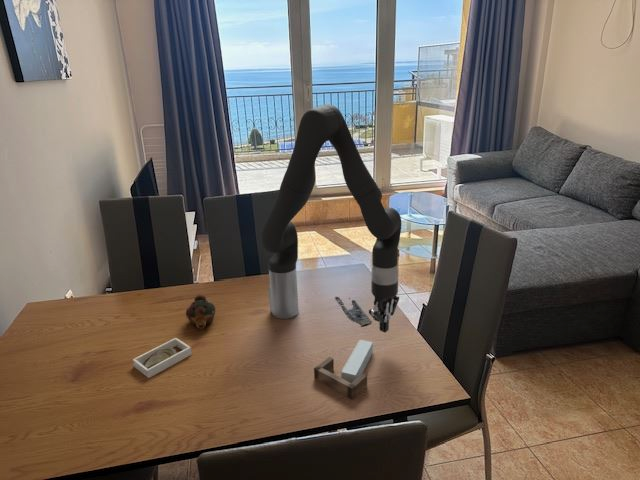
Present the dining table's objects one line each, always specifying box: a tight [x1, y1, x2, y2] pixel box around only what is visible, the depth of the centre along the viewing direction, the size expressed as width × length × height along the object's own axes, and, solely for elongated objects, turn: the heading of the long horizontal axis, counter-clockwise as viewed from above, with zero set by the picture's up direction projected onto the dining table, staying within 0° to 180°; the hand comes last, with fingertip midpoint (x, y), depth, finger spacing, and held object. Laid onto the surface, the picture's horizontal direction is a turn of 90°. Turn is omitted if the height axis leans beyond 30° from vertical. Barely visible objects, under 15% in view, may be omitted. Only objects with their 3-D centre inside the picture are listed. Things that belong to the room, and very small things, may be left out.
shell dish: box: [132, 337, 193, 379], centre depth 131 cm, size 8×14×2 cm, turn 139°
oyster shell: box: [142, 347, 178, 369], centre depth 130 cm, size 6×4×10 cm
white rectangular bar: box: [340, 339, 374, 383], centre depth 125 cm, size 4×16×4 cm, turn 157°
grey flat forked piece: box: [334, 296, 373, 327], centre depth 155 cm, size 21×7×2 cm, turn 16°
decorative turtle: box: [185, 292, 216, 330], centre depth 150 cm, size 10×15×8 cm, turn 19°
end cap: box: [313, 356, 368, 400], centre depth 119 cm, size 13×6×4 cm, turn 49°
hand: (384, 330), depth 132 cm, fingers closed
